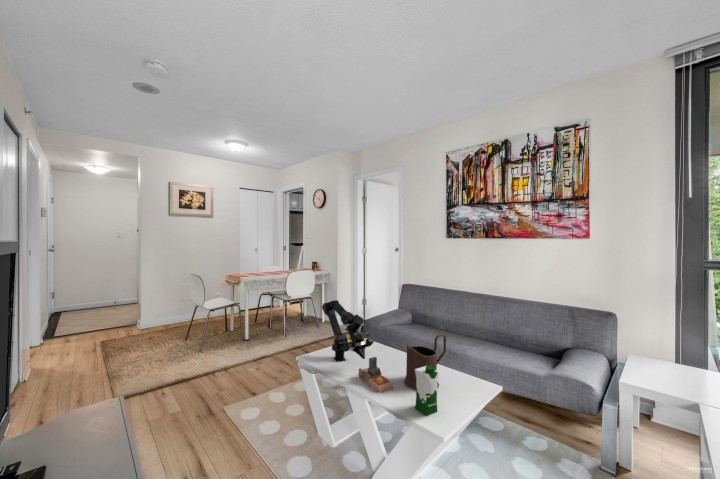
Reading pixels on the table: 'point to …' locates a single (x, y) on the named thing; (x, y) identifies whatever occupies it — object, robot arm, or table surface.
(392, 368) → the table surface
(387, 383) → the pink square tray
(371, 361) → the plunger
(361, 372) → the track
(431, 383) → the milk carton
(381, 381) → the ball
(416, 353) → the brown pitcher
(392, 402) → the table surface
